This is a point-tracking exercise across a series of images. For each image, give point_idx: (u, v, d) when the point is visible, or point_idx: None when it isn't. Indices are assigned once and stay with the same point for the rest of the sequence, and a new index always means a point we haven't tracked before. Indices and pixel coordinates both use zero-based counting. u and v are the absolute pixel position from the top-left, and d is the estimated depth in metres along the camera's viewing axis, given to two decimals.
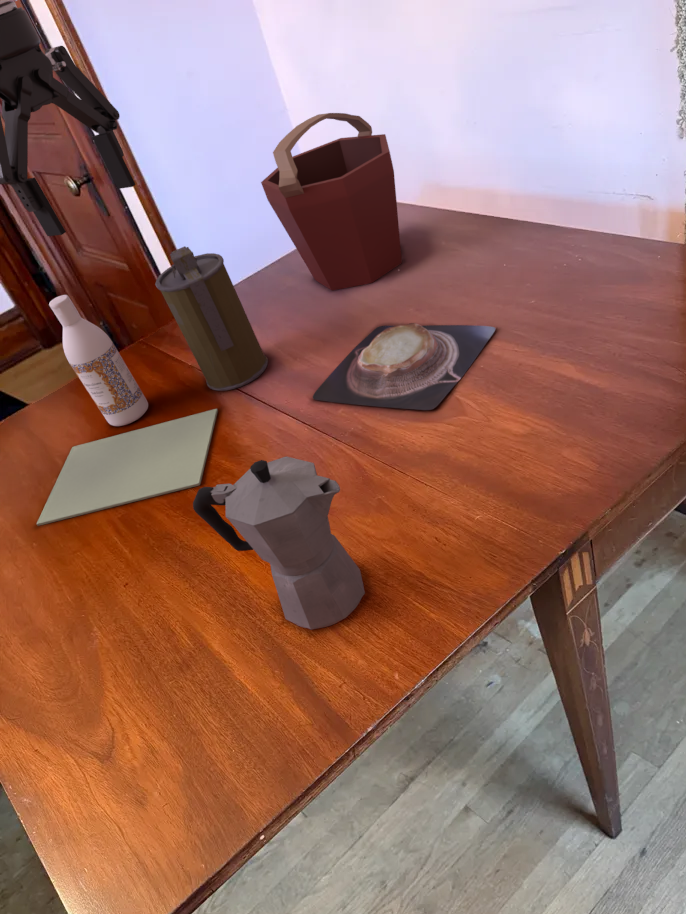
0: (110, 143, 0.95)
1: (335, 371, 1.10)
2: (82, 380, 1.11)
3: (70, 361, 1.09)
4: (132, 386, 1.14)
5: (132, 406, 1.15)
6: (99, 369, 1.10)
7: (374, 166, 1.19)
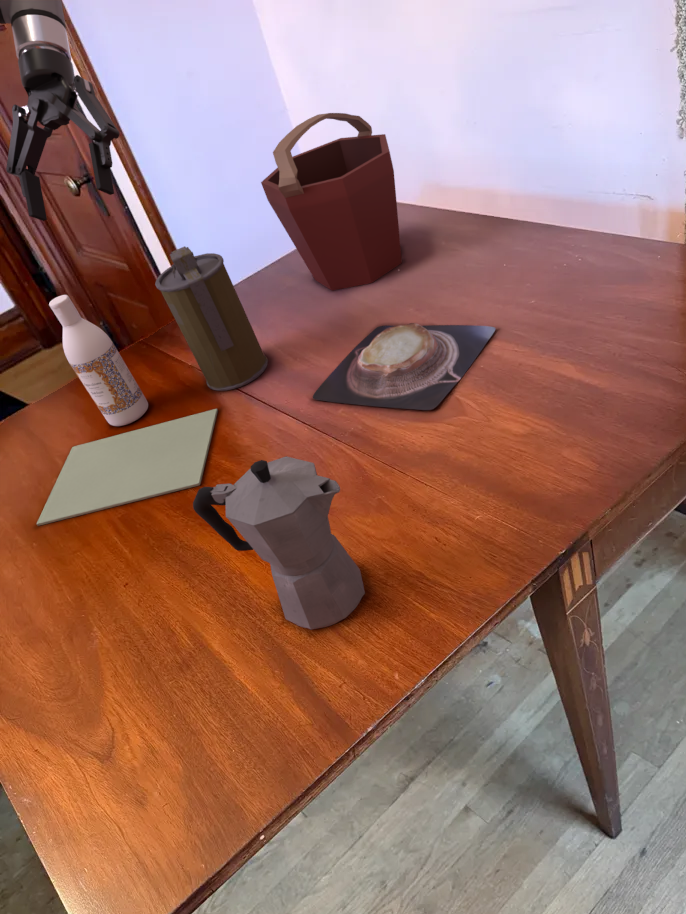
0: (39, 184, 1.16)
1: (335, 371, 1.10)
2: (82, 380, 1.11)
3: (70, 361, 1.09)
4: (132, 386, 1.14)
5: (132, 406, 1.15)
6: (99, 369, 1.10)
7: (374, 166, 1.19)
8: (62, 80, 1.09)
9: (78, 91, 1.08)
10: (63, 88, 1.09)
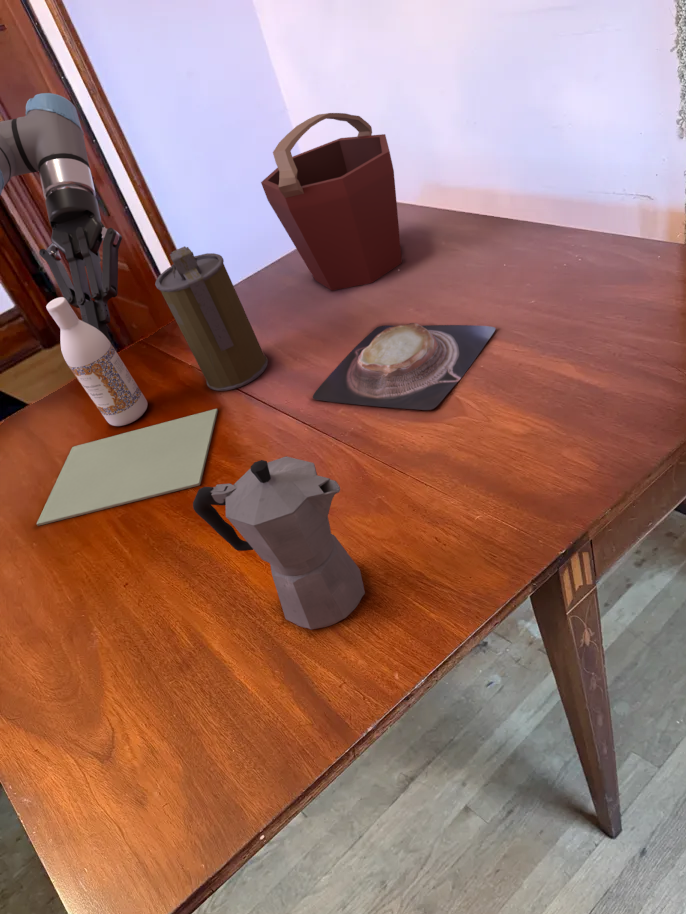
0: None
1: (335, 371, 1.10)
2: (81, 382, 1.11)
3: (69, 363, 1.09)
4: (131, 386, 1.14)
5: (132, 406, 1.15)
6: (98, 371, 1.09)
7: (374, 166, 1.19)
8: (92, 217, 1.14)
9: (104, 241, 1.14)
10: (94, 226, 1.14)
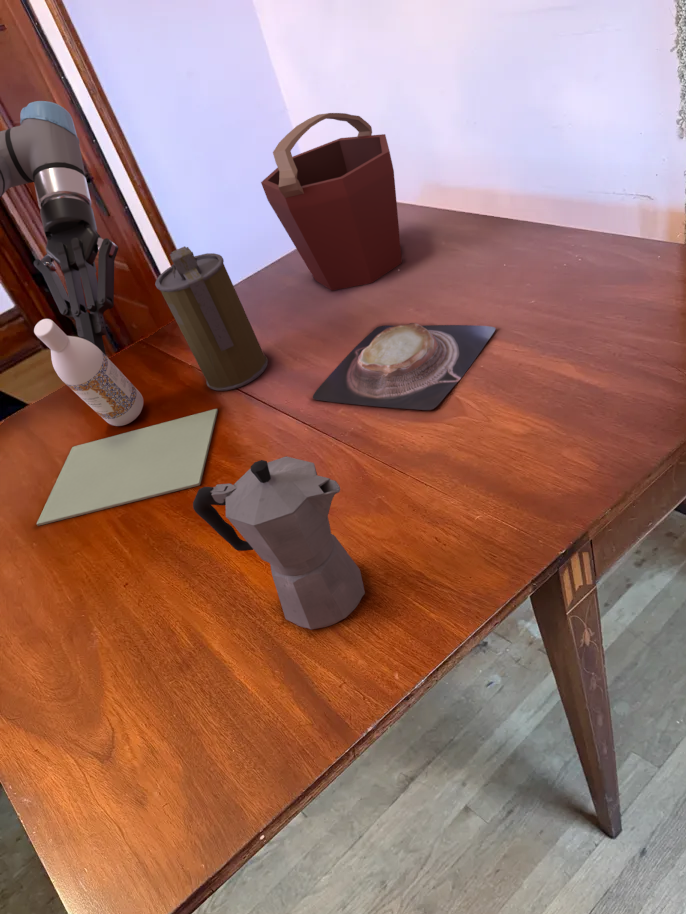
0: None
1: (335, 371, 1.10)
2: (78, 394, 1.09)
3: (64, 381, 1.06)
4: (127, 390, 1.12)
5: (130, 408, 1.14)
6: (95, 386, 1.07)
7: (374, 166, 1.19)
8: (88, 227, 1.12)
9: (100, 252, 1.12)
10: (90, 236, 1.12)
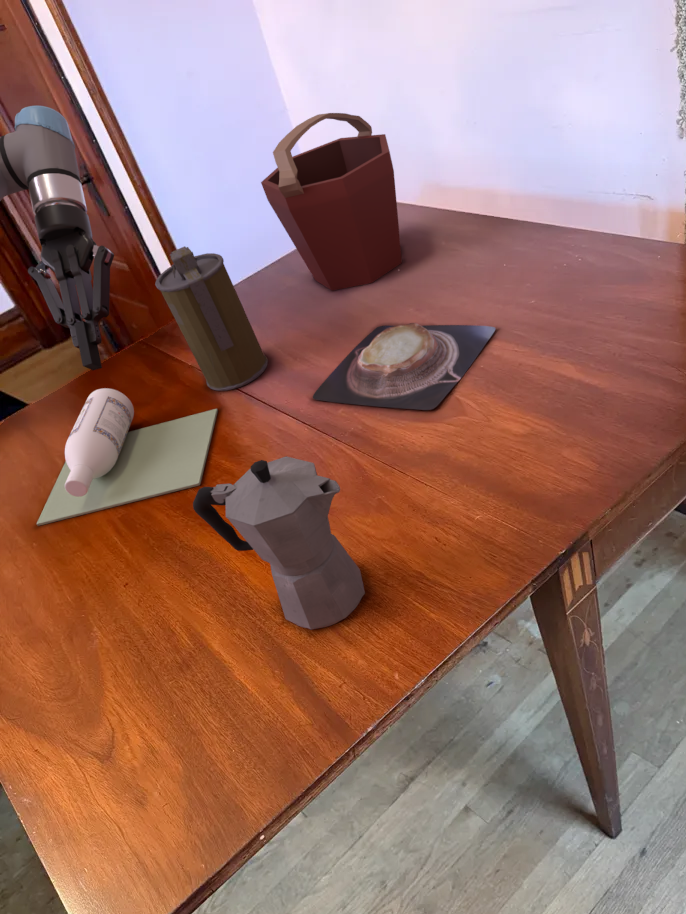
0: None
1: (335, 371, 1.10)
2: None
3: None
4: (126, 422, 1.10)
5: (130, 424, 1.13)
6: None
7: (374, 166, 1.19)
8: (83, 234, 1.10)
9: (96, 259, 1.10)
10: (85, 243, 1.10)
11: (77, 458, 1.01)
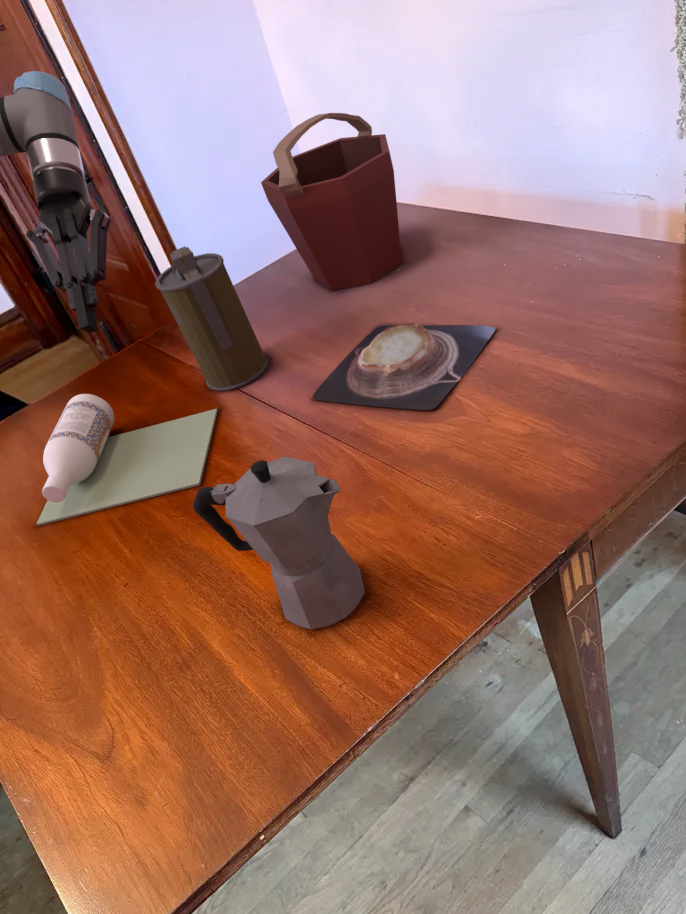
0: None
1: (335, 371, 1.10)
2: None
3: None
4: (90, 412, 1.09)
5: (105, 411, 1.11)
6: (97, 447, 1.07)
7: (374, 166, 1.19)
8: (81, 198, 1.12)
9: (93, 223, 1.11)
10: (82, 207, 1.12)
11: (47, 470, 1.02)
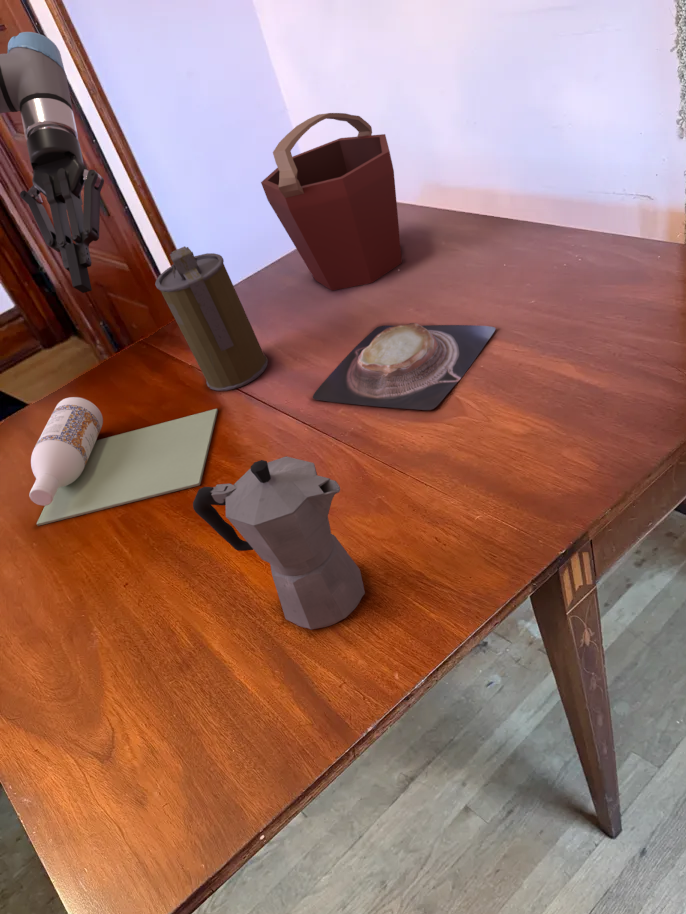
0: None
1: (335, 371, 1.10)
2: (88, 456, 1.09)
3: (82, 470, 1.07)
4: (64, 413, 1.08)
5: (82, 407, 1.11)
6: (77, 441, 1.06)
7: (374, 166, 1.19)
8: (74, 159, 1.13)
9: (86, 183, 1.12)
10: (76, 167, 1.13)
11: None
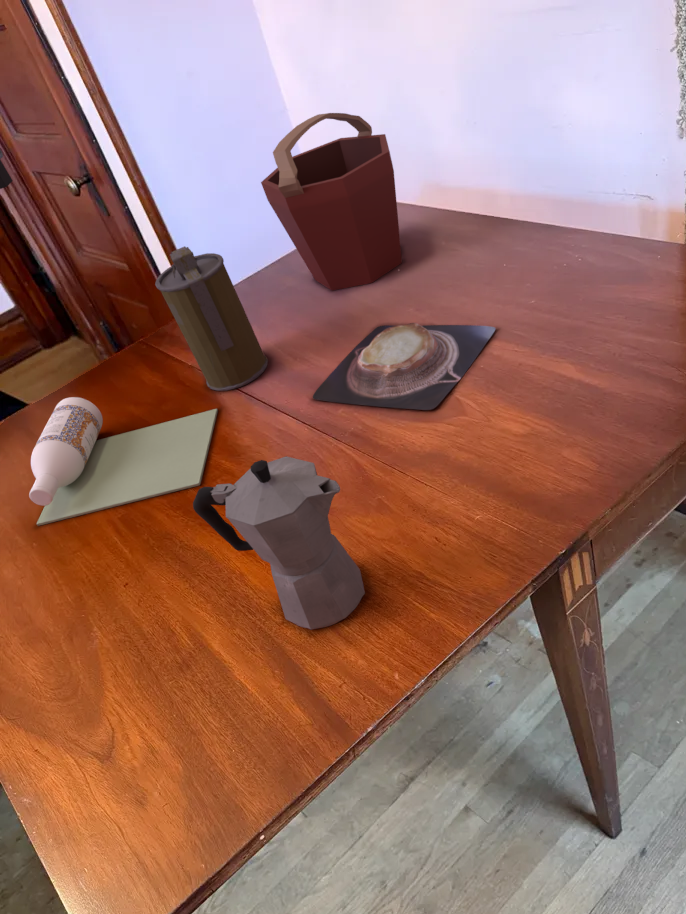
0: None
1: (335, 371, 1.10)
2: (88, 456, 1.09)
3: (82, 470, 1.07)
4: (64, 413, 1.08)
5: (82, 407, 1.11)
6: (76, 440, 1.06)
7: (374, 166, 1.19)
8: None
9: None
10: None
11: None
